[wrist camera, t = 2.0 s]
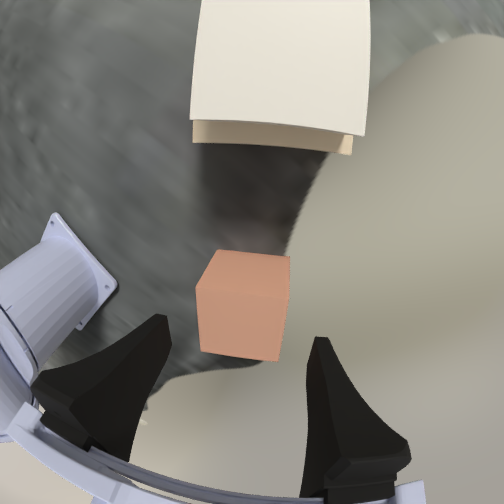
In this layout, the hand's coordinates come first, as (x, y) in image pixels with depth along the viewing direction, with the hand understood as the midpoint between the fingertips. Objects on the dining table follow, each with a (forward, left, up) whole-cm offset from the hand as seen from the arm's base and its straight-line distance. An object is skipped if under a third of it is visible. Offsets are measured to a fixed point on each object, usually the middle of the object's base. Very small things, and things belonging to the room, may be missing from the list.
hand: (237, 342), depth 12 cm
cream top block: (+9, +8, -3) cm, 13 cm away
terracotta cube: (0, 0, -6) cm, 5 cm away
